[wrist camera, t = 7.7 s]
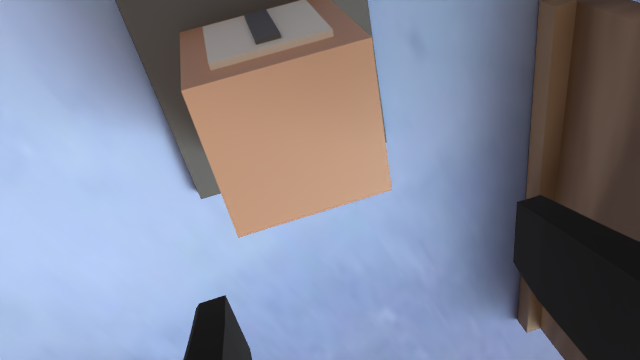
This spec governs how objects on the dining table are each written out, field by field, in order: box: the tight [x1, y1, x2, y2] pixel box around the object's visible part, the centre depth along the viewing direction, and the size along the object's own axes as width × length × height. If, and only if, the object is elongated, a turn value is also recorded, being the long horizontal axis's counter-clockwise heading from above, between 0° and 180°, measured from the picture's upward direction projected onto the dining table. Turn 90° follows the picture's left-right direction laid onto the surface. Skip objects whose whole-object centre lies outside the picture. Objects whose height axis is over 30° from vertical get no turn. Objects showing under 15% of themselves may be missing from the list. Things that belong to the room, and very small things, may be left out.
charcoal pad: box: [116, 0, 386, 199], centre depth 18 cm, size 8×8×1 cm
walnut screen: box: [518, 0, 640, 360], centre depth 22 cm, size 3×20×6 cm, turn 12°
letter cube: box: [180, 0, 392, 238], centre depth 16 cm, size 5×5×5 cm
